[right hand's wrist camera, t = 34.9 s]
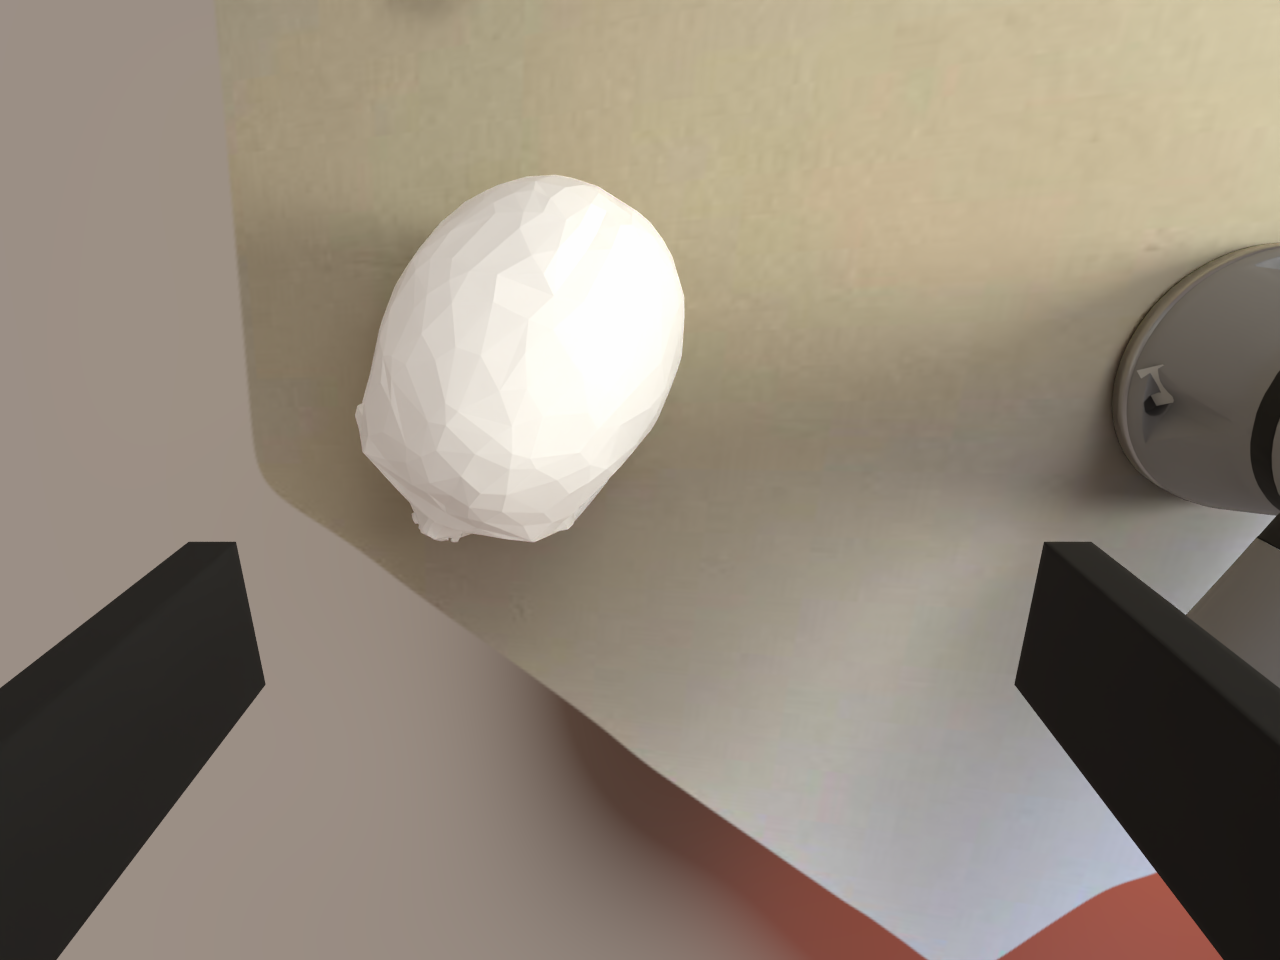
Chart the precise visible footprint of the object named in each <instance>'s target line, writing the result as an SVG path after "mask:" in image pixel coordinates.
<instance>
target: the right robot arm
mask: <svg viewBox="0 0 1280 960" xmlns="http://www.w3.org/2000/svg"><path fill="white" fill-rule="evenodd" d="M1112 411H1113V421H1114V427H1115V431H1116V434H1117V438H1118V441H1119V443H1120V445H1121V447H1122V450H1123V452H1124V453H1125V455H1126V456H1127V458H1128V460H1129V461H1130V462H1131V464H1132V465H1133V466H1134V467H1135V468H1136V469H1137V470H1138V471H1139V472H1140V473H1141V474H1142V475H1143V476H1144V477H1145V478H1147V479H1148V480H1149V481H1151V482H1152V483H1154V484H1156V485H1157V486H1159V487H1161V488H1163V489H1164V490H1166V491H1168V492H1170V493H1171V494H1173V495H1175V496H1178V497H1180V498H1182V499H1184V500H1188V501H1191V502H1194V503H1197V504H1200V505H1203V506H1208V507H1212V508H1218V509H1226V510H1233V511H1242V512H1251V513H1259V514H1268V515H1276V517H1275V518H1274V519H1273V521H1272V522H1271V523H1270V524H1269V525H1268V526H1267V527H1266V528H1265V529H1264V531H1263V532H1262V533H1261V534H1260V535H1259V536H1258V537H1257V538H1256V539H1255V540H1254V541H1253V542H1252V543H1251V544H1250V546H1249V547H1248V548H1247V549H1246V550H1245V551H1244V552H1243V553H1242V554H1241V556H1240V557H1239V558H1238V559H1237V560H1236V561H1235V562H1234V563H1233V565H1232V566H1231V567H1230V568H1229V569H1228V570H1227V571H1226V572H1225V573H1224V574H1223V575H1222V577H1221V578H1220V579H1219V580H1218V581H1217V582H1216V583H1215V584H1214V585H1213V586H1212V587H1211V588H1210V590H1209V591H1208V592H1207V593H1206V594H1205V595H1204V596H1203V597H1202V598H1201V599H1200V600H1199V602H1198V603H1197V604H1196V605H1195V606H1194V607H1193V608H1192V609H1191V610H1190V611H1189V612H1188V613H1187V615H1185V614H1184V613H1182V612H1181V611H1180V610H1178V609H1177V608H1176V607H1174V606H1173V605H1172V604H1171V603H1169V602H1168V601H1167V600H1165V599H1164V598H1163V597H1162V596H1160V595H1159V594H1158V593H1156V592H1155V591H1154V590H1153V589H1151V588H1150V587H1149V586H1147V585H1146V584H1145V583H1144V582H1142V581H1141V580H1140V579H1138V578H1137V577H1136V576H1135V575H1133V574H1132V573H1131V572H1129V571H1128V570H1127V569H1126V568H1124V567H1123V566H1122V565H1120V564H1119V563H1118V562H1117V561H1115V560H1114V559H1113V558H1111V557H1110V556H1109V555H1108V554H1106V553H1105V552H1104V551H1102V550H1101V549H1100V548H1098V547H1097V546H1096V545H1095V544H1093V543H1092V542H1044V545H1043V550H1042V555H1041V559H1040V564H1039V569H1038V574H1037V579H1036V583H1035V588H1034V593H1033V598H1032V603H1031V608H1030V612H1029V617H1028V622H1027V627H1026V632H1025V637H1024V641H1023V646H1022V651H1021V656H1020V661H1019V665H1018V670H1017V675H1016V680H1015V686H1016V687H1017V688H1018V690H1019V691H1020V692H1021V694H1022V695H1023V696H1024V698H1025V699H1026V700H1027V702H1028V703H1029V704H1030V706H1031V707H1032V708H1033V709H1034V711H1035V712H1036V713H1037V715H1038V716H1039V717H1040V719H1041V720H1042V721H1043V723H1044V724H1045V725H1046V727H1047V728H1048V729H1049V731H1050V732H1051V733H1052V734H1053V736H1054V737H1055V738H1056V740H1057V741H1058V742H1059V744H1060V745H1061V746H1062V748H1063V749H1064V750H1065V752H1066V753H1067V754H1068V756H1069V757H1070V758H1071V759H1072V761H1073V762H1074V763H1075V765H1076V766H1077V767H1078V769H1079V770H1080V771H1081V773H1082V774H1083V775H1084V777H1085V778H1086V779H1087V781H1088V782H1089V783H1090V784H1091V786H1092V787H1093V788H1094V790H1095V791H1096V792H1097V794H1098V795H1099V796H1100V798H1101V799H1102V800H1103V802H1104V803H1105V804H1106V806H1107V807H1108V808H1109V809H1110V811H1111V812H1112V813H1113V815H1114V816H1115V817H1116V819H1117V820H1118V821H1119V823H1120V824H1121V825H1122V827H1123V828H1124V829H1125V831H1126V832H1127V833H1128V835H1129V836H1130V837H1131V838H1132V840H1133V841H1134V842H1135V844H1136V845H1137V846H1138V848H1139V849H1140V850H1141V852H1142V853H1143V854H1144V856H1145V857H1146V858H1147V860H1148V861H1149V862H1150V863H1151V865H1152V866H1153V867H1154V869H1155V870H1156V871H1157V873H1158V874H1159V875H1160V876H1161V878H1162V879H1163V881H1164V882H1165V883H1166V885H1167V886H1168V887H1169V888H1170V890H1171V891H1172V892H1173V894H1174V895H1175V896H1176V898H1177V899H1178V900H1179V902H1180V903H1181V904H1182V906H1183V907H1184V908H1185V909H1186V911H1187V912H1188V913H1189V915H1190V916H1191V917H1192V919H1193V920H1194V921H1195V923H1196V924H1197V925H1198V927H1199V928H1200V929H1201V931H1202V932H1203V933H1204V935H1205V936H1206V937H1207V938H1208V940H1209V941H1210V942H1211V944H1212V945H1213V946H1214V948H1215V949H1216V950H1217V952H1218V953H1219V954H1220V956H1221V957H1222V958H1223V960H1280V243H1272V244H1263V245H1257V246H1252V247H1248V248H1244V249H1241V250H1237V251H1234V252H1232V253H1229V254H1227V255H1224V256H1221V257H1219V258H1217V259H1215V260H1213V261H1211V262H1209V263H1207V264H1205V265H1204V266H1202V267H1200V268H1199V269H1197V270H1195V271H1194V272H1192V273H1191V274H1189V275H1188V276H1186V277H1185V278H1184V279H1182V280H1181V281H1180V282H1179V283H1177V284H1176V285H1175V286H1174V287H1172V288H1171V289H1170V290H1169V291H1168V292H1167V293H1166V294H1165V295H1164V296H1163V297H1162V298H1161V299H1160V300H1159V301H1158V302H1157V303H1156V304H1155V305H1154V306H1153V307H1152V309H1151V310H1150V311H1149V312H1148V314H1147V315H1146V316H1145V317H1144V319H1143V320H1142V321H1141V323H1140V324H1139V326H1138V327H1137V329H1136V330H1135V332H1134V334H1133V335H1132V337H1131V339H1130V341H1129V343H1128V345H1127V347H1126V349H1125V351H1124V354H1123V356H1122V358H1121V361H1120V364H1119V367H1118V370H1117V374H1116V378H1115V382H1114V389H1113V399H1112ZM1267 543H1268V544H1267ZM1269 544H1270V545H1269ZM1271 545H1272V546H1271ZM1273 546H1274V547H1273ZM1276 548H1277V549H1276ZM1278 549H1279V550H1278ZM264 686H265V680H264V675H263V670H262V665H261V661H260V656H259V651H258V646H257V641H256V637H255V632H254V627H253V622H252V617H251V612H250V608H249V603H248V598H247V593H246V588H245V583H244V579H243V574H242V569H241V564H240V559H239V555H238V550H237V545H236V542H188V543H187V544H185V545H184V546H183V547H182V548H180V549H179V550H178V551H176V552H175V553H174V554H173V555H171V556H170V557H169V558H167V559H166V560H165V561H163V562H162V563H161V564H160V565H158V566H157V567H156V568H154V569H153V570H152V571H151V572H149V573H148V574H147V575H146V576H144V577H143V578H142V579H140V580H139V581H138V582H136V583H135V584H134V585H133V586H131V587H130V588H129V589H127V590H126V591H125V592H124V593H122V594H121V595H120V596H118V597H117V598H116V599H115V600H113V601H112V602H111V603H109V604H108V605H107V606H106V607H104V608H103V609H102V610H100V611H99V612H98V613H97V614H95V615H94V616H93V617H91V618H90V619H89V620H88V621H86V622H85V623H84V624H82V625H81V626H80V627H79V628H77V629H76V630H75V631H73V632H72V633H71V634H70V635H68V636H67V637H66V638H64V639H63V640H62V641H60V642H59V643H58V644H57V645H55V646H54V647H53V648H51V649H50V650H49V651H48V652H46V653H45V654H44V655H42V656H41V657H40V658H39V659H37V660H36V661H35V662H33V663H32V664H31V665H30V666H28V667H27V668H26V669H24V670H23V671H22V672H20V673H19V674H18V675H17V676H15V677H14V678H13V679H11V680H10V681H9V682H8V683H6V684H5V685H4V686H2V687H1V688H0V960H56V959H57V958H58V957H59V956H60V954H61V953H62V952H63V950H64V949H65V948H66V946H67V945H68V944H69V942H70V941H71V940H72V938H73V937H74V936H75V935H76V933H77V932H78V931H79V929H80V928H81V927H82V925H83V924H84V923H85V921H86V920H87V919H88V917H89V916H90V915H91V913H92V912H93V911H94V910H95V908H96V907H97V906H98V904H99V903H100V902H101V900H102V899H103V898H104V896H105V895H106V894H107V892H108V891H109V890H110V888H111V887H112V886H113V884H114V883H115V882H116V881H117V879H118V878H119V877H120V875H121V874H122V873H123V871H124V870H125V869H126V867H127V866H128V865H129V863H130V862H131V861H132V860H133V858H134V857H135V856H136V854H137V853H138V852H139V850H140V849H141V848H142V846H143V845H144V844H145V842H146V841H147V840H148V838H149V837H150V836H151V835H152V833H153V832H154V831H155V829H156V828H157V827H158V825H159V824H160V823H161V821H162V820H163V819H164V817H165V816H166V815H167V813H168V812H169V811H170V809H171V808H172V807H173V806H174V804H175V803H176V802H177V800H178V799H179V798H180V796H181V795H182V794H183V792H184V791H185V790H186V788H187V787H188V786H189V784H190V783H191V782H192V780H193V779H194V778H195V777H196V775H197V774H198V773H199V771H200V770H201V769H202V767H203V766H204V765H205V763H206V762H207V761H208V759H209V758H210V757H211V755H212V754H213V753H214V752H215V750H216V749H217V748H218V746H219V745H220V744H221V742H222V741H223V740H224V738H225V737H226V736H227V734H228V733H229V732H230V731H231V729H232V728H233V727H234V725H235V724H236V723H237V721H238V720H239V719H240V717H241V716H242V715H243V713H244V712H245V711H246V709H247V708H248V707H249V706H250V704H251V703H252V702H253V700H254V699H255V698H256V696H257V695H258V694H259V692H260V691H261V690H262V688H263V687H264Z"/></svg>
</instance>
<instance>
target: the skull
mask: <svg viewBox="0 0 1280 960" xmlns="http://www.w3.org/2000/svg"><path fill="white" fill-rule="evenodd" d="M683 331H684V294H683V291H682V287H681V284H680V281H679V277H678V274H677V271H676V267H675V264H674V261H673V257H672V255H671V253H670V251H669V249H668V248H667V246H666V244H665V242H664V240H663V239H662V237H661V236H660V235H659V233H658V232H657V231H656V229H655V228H654V227H653V225H652V224H651V223H650V222H649V221H648V220H647V219H646V218H645V217H643V216H642V215H641V214H640V213H639V212H638V211H636V210H635V209H633V208H631V207H630V206H628V205H627V204H625V203H624V202H622V201H620V200H619V199H617V198H616V197H614V196H613V195H611V194H610V193H608V192H606V191H605V190H603V189H602V188H600V187H599V186H596V185H593V184H590V183H587V182H584V181H580V180H577V179H574V178H571V177H565V176H559V175H542V176H527V177H523V178H519V179H516V180H513V181H509V182H506V183H502V184H499V185H496V186H494V187H492V188H490V189H488V190H485V191H484V192H482V193H480V194H478V195H476V196H475V197H473V198H471V199H469V200H467V201H465V202H464V203H463V204H461V205H460V206H459V207H458V208H457V209H456V210H455V211H453V212H452V213H451V214H450V215H449V216H447V217H446V218H445V219H444V220H443V221H442V222H440V224H439V225H438V226H437V227H436V228H435V230H434V231H433V232H432V233H431V234H430V236H429V237H428V238H427V239H426V240H425V242H424V243H423V244H422V245H421V246H420V248H419V249H418V250H417V252H416V253H415V255H414V256H413V258H412V259H411V261H410V262H409V264H408V265H407V267H406V268H405V270H404V271H403V273H402V275H401V276H400V278H399V280H398V281H397V283H396V285H395V287H394V290H393V292H392V295H391V298H390V300H389V303H388V306H387V308H386V311H385V314H384V316H383V319H382V322H381V325H380V329H379V333H378V338H377V342H376V347H375V352H374V357H373V362H372V366H371V371H370V375H369V379H368V383H367V386H366V390H365V394H364V397H363V401H362V404H360V405H358V406H357V409H356V413H355V417H356V421H357V424H358V428H359V432H360V439H361V445H362V452H363V453H364V454H365V455H366V456H367V457H368V458H369V459H370V461H371V462H372V463H373V464H374V465H375V466H376V467H377V468H378V469H379V470H380V471H381V473H382V474H383V475H384V476H385V477H386V478H387V479H388V480H389V481H390V482H391V483H392V485H393V486H394V487H395V488H396V489H397V490H398V491H399V492H400V493H401V494H402V495H403V496H404V497H405V498H406V499H407V500H408V501H409V502H410V504H411V507H412V509H413V511H414V513H412V519H413V521H414V523H415V524H419V527H418V529H420V531H421V533H423V534H425V535H427V536H429V537H431V538H432V539H434V540H438V541H445V540H448V541H449V539H448V538H451V539H450V541H452V542H458V540H459V539H460V538H461V537H464V536H467V535H469V534H478V535H484V536H490V537H495V538H501V539H508V540H517V541H526V542H536V541H538V540H541V539H543V538H545V537H547V536H549V535H552V534H554V533H556V532H558V531H563V530H567V529H569V528H570V527H571V526H572V525H573V524H574V521H575V520H576V519H577V518H578V517H579V516H580V515H581V513H582V512H583V511H584V510H585V509H586V507H587V506H588V505H589V504H590V503H591V502H592V500H593V499H594V498H595V497H596V496H597V494H598V493H599V492H600V490H601V489H602V488H603V487H604V485H605V484H606V483H607V481H608V479H609V478H610V477H611V476H612V475H613V474H614V473H615V472H616V471H617V470H618V469H619V468H620V467H621V466H622V465H623V463H624V462H625V461H626V460H627V459H628V457H629V456H630V455H631V454H632V453H633V451H634V450H635V449H636V448H637V446H638V445H639V444H640V443H641V442H642V440H643V439H644V438H645V437H646V435H647V434H648V433H649V432H650V431H651V429H652V428H653V426H654V424H655V423H656V421H657V419H658V417H659V415H660V412H661V410H662V408H663V405H664V403H665V401H666V398H667V396H668V394H669V391H670V389H671V386H672V383H673V381H674V378H675V375H676V373H677V370H678V367H679V364H680V361H681V358H682V346H683Z"/></svg>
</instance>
